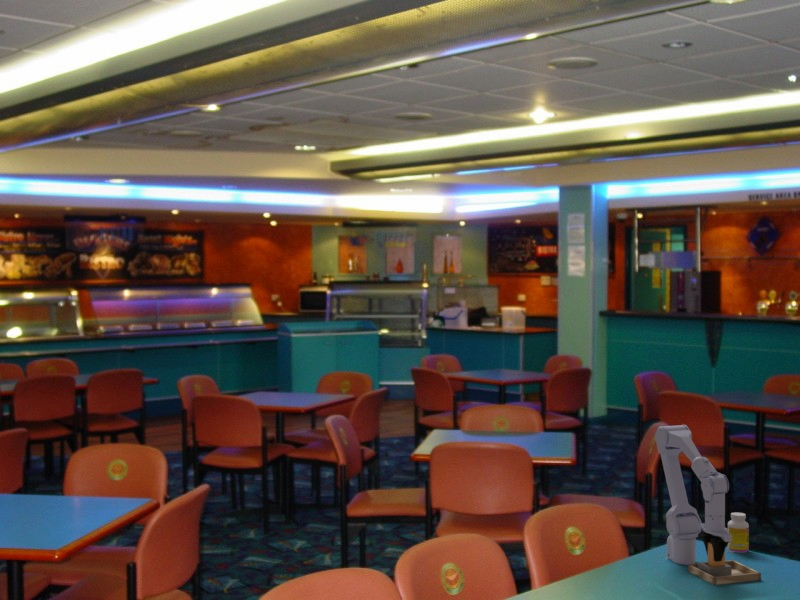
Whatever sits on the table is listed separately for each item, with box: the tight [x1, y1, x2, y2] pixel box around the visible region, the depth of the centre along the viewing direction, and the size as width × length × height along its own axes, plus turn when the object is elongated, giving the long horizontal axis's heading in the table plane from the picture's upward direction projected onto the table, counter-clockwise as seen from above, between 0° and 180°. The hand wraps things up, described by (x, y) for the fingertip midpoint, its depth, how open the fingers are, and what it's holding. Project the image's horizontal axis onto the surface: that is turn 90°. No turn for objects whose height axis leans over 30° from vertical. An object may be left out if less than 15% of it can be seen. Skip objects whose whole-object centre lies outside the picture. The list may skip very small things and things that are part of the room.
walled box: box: [687, 559, 762, 586], centre depth 305 cm, size 14×16×3 cm
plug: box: [707, 542, 726, 567], centre depth 304 cm, size 3×4×8 cm
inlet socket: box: [697, 561, 732, 577], centre depth 304 cm, size 6×7×4 cm
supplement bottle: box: [727, 512, 750, 553], centre depth 332 cm, size 7×7×13 cm
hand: (714, 559), depth 304 cm, fingers closed on plug, 3 cm apart
